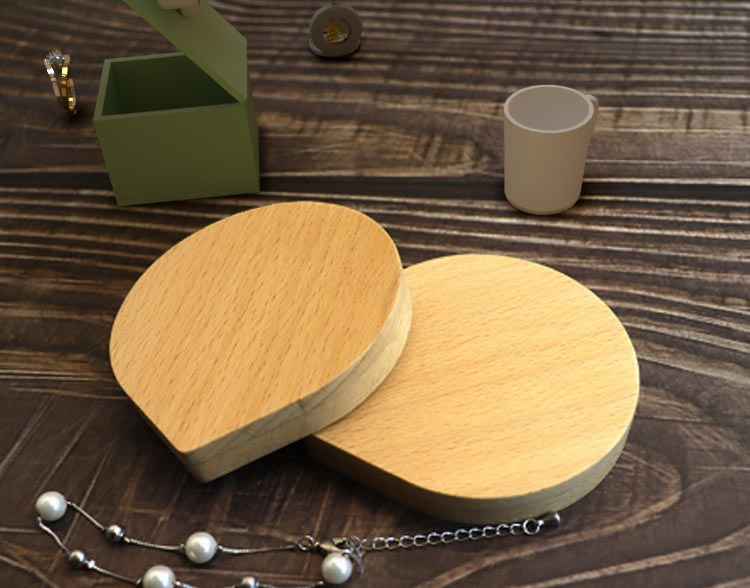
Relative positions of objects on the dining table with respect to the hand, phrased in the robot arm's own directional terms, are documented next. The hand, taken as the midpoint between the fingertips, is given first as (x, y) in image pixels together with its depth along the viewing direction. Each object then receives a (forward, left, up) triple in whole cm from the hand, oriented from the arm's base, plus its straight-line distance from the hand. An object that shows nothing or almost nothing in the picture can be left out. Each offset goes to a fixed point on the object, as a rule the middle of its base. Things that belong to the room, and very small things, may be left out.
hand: (191, 9), depth 102 cm
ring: (-18, +14, -19) cm, 30 cm away
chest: (-3, 0, -19) cm, 19 cm away
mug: (+36, -11, -19) cm, 42 cm away
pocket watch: (+15, +23, -19) cm, 33 cm away
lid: (-1, 0, -1) cm, 2 cm away
